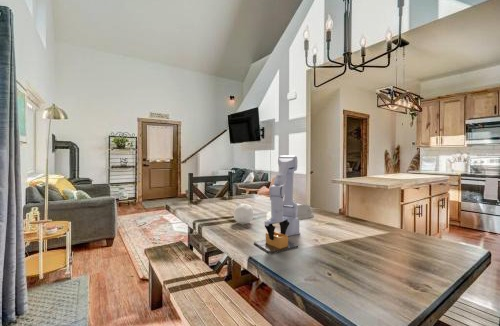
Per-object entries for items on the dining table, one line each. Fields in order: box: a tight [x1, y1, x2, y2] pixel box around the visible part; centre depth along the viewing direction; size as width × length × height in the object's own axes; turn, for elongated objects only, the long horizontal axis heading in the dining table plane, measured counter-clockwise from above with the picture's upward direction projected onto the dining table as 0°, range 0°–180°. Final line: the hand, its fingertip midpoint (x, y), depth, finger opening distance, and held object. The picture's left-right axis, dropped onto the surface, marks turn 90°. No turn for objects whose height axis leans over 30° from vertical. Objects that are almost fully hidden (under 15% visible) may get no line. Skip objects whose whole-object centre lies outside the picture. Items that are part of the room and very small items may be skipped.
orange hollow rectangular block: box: [265, 230, 289, 249], centre depth 123 cm, size 5×10×5 cm, turn 37°
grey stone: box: [297, 204, 315, 220], centre depth 179 cm, size 17×5×10 cm, turn 118°
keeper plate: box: [253, 236, 299, 255], centre depth 124 cm, size 16×15×6 cm
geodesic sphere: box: [232, 202, 255, 226], centre depth 164 cm, size 14×14×14 cm
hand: (277, 237), depth 122 cm, fingers open, 7 cm apart
